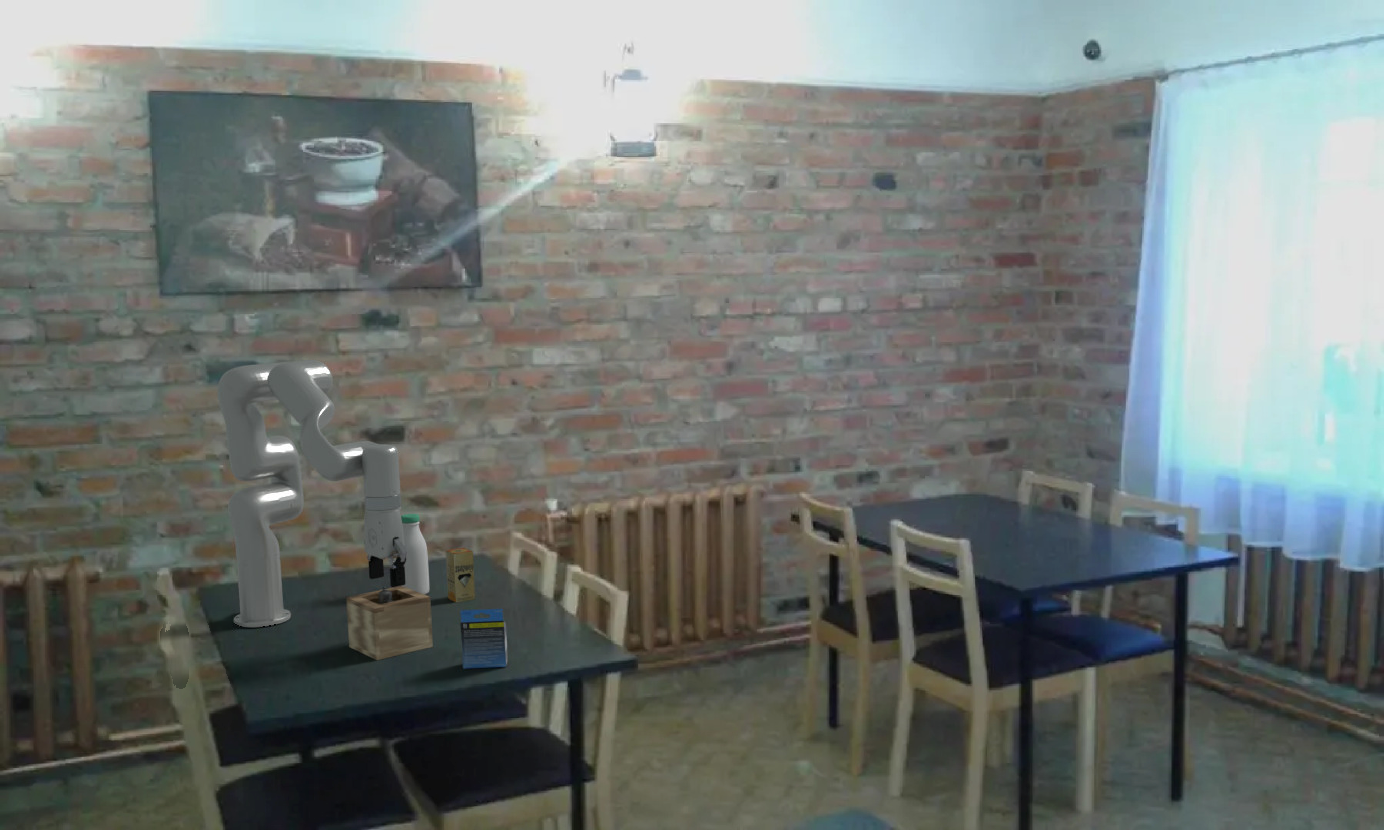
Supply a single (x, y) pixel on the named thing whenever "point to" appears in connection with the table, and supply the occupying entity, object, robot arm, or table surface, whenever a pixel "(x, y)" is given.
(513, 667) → the table surface
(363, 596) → the box
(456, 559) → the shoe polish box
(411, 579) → the milk bottle
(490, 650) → the label tape cartridge
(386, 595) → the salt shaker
